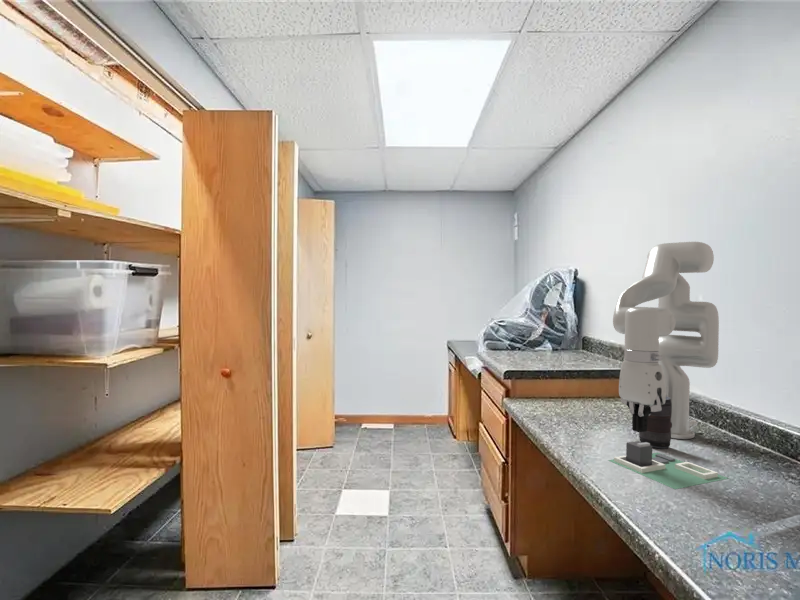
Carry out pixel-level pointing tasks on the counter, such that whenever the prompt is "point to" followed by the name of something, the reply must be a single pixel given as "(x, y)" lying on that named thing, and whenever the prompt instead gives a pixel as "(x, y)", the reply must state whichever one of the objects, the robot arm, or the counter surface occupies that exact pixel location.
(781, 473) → the counter surface
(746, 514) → the counter surface
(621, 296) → the robot arm
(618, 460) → the board
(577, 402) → the counter surface
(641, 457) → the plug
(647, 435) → the camera lens
